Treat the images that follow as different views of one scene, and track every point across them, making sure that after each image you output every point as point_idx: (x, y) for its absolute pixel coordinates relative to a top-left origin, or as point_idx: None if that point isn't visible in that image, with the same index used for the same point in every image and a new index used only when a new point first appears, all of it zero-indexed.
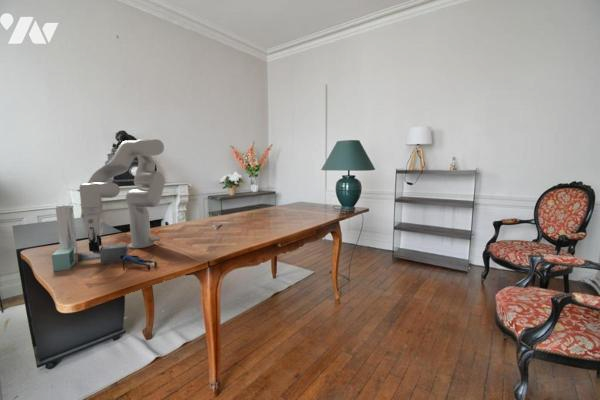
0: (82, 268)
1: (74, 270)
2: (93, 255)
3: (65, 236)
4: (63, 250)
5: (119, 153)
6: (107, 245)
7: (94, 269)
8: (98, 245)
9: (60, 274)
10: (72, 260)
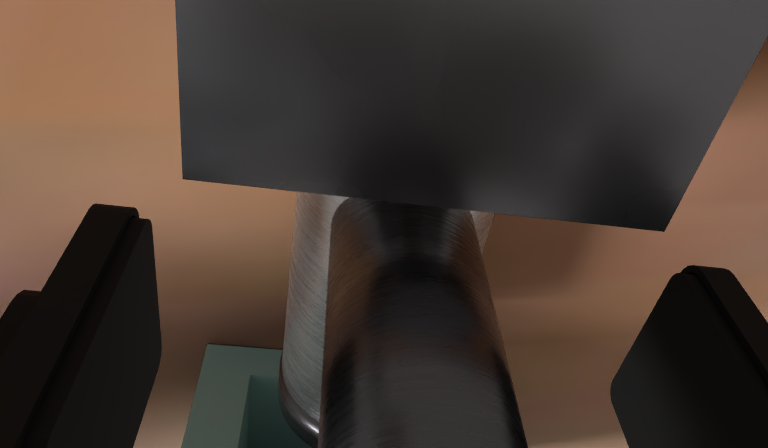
0: (561, 265)
1: (575, 327)
2: (483, 247)
3: None
4: None
5: None
6: (238, 31)
7: (760, 136)
8: (474, 318)
9: (612, 410)
10: (247, 399)
